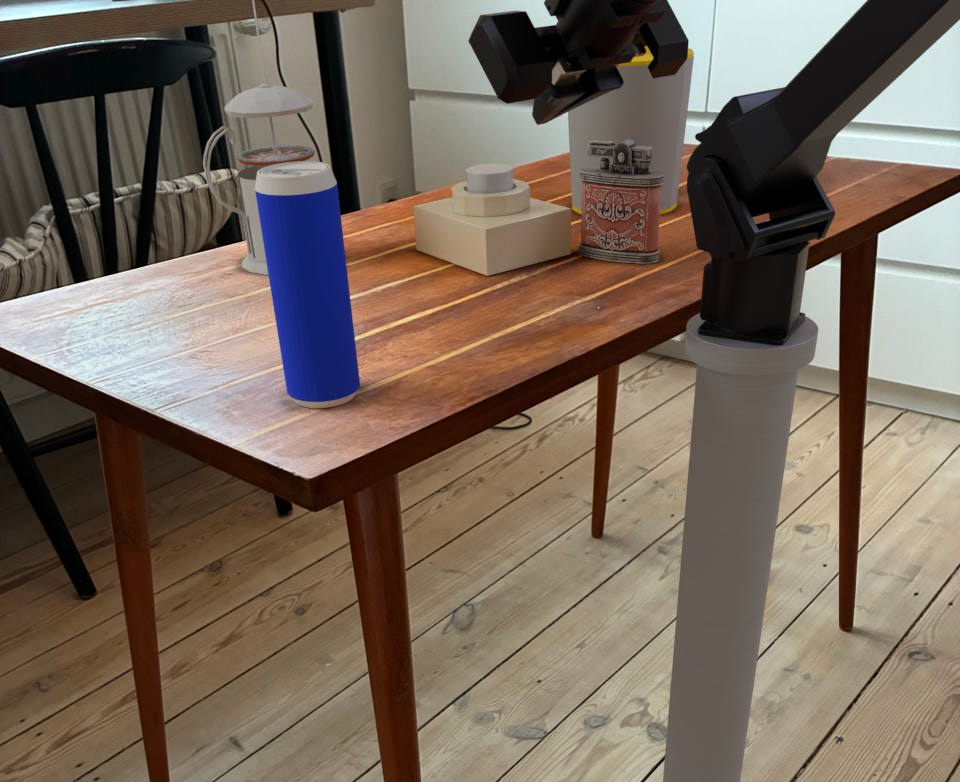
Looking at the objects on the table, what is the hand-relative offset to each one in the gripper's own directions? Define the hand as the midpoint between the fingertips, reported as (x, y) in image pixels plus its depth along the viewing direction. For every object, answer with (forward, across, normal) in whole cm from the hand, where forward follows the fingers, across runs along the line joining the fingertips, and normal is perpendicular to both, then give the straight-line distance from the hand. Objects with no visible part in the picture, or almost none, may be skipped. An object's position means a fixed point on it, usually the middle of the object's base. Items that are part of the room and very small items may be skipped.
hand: (537, 119), depth 89 cm
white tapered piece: (+17, -21, +1) cm, 27 cm away
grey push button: (+10, 0, 0) cm, 10 cm away
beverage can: (0, +30, +18) cm, 35 cm away
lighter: (+7, -8, +11) cm, 15 cm away
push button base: (+14, 0, +4) cm, 14 cm away
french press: (+23, +17, -5) cm, 29 cm away
